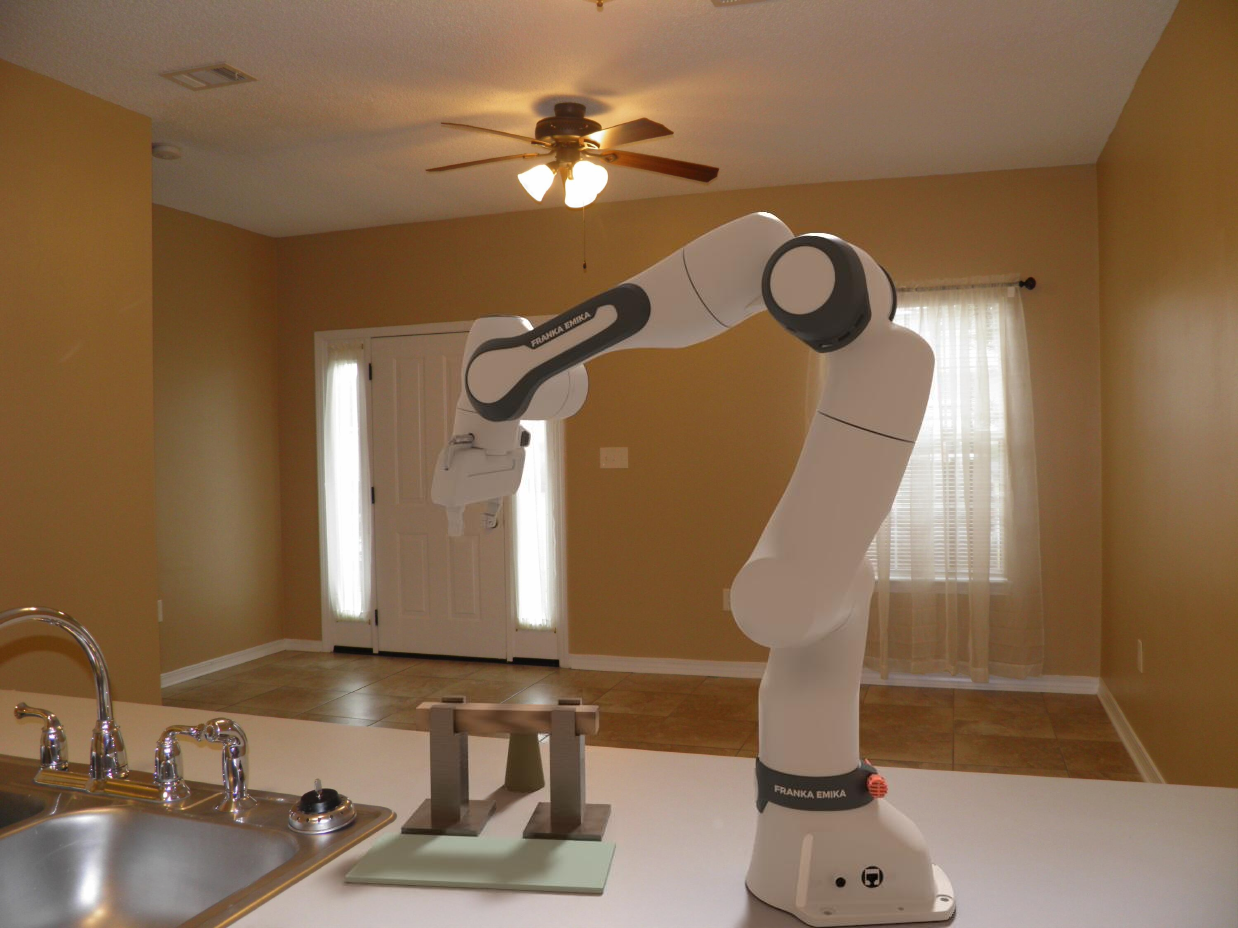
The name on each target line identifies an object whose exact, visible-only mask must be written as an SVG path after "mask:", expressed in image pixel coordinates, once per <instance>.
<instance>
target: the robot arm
mask: <svg viewBox="0 0 1238 928" xmlns="http://www.w3.org/2000/svg"><path fill="white" fill-rule="evenodd" d="M897 295H898V293H897V289H896V287H895V284H894V281H893V279H892V277H891V276H890V274H889V273H888V272H887V270H886V269H885V268H884V267H883V266H881V265H880V264H879V263H878V262H876V261H875V260H874V258H873V257H872V256H870V254H868V253H867V252H866V251H865V250H863V249H862V248H861V247H858V246H856V245H854V244H852V243H850V242H847V241H845V240H843V238H840V237H838V236H835V235H832V234H828V233H818V232H817V233H805V234H802V235H798V236H795V235H794V233H793V232H792V231H791V229H790V228H789V227H788V225H786V223H784V222H783V221H782V220H781V219H779V218H778V217H776V216H775V215H773V214H771V213H767V212H760V211H759V212H753V213H750V214H747V215H744V216H742V217H739V218H737V219H734V220H732V221H730V222H727V223H725V224H722V225H720V226H718V227H716V228H714V229H712V230H710V231H709V232H707V233H705V234H703V235H701V236H699V237H697V238H696V239H694V240H692V241H691V242H689V243H687V244H685V245H684V246H682V247H681V248H679V249H678V250H676V251H675V252H673V253H671V254H670V255H668V256H666V257H665V258H664V259H662V260H660V261H658V262H657V263H655V264H653V265H652V266H650V267H649V268H647V269H645V270H643V271H642V272H640V273H639V274H636V275H635V276H633V277H631V278H629V279H626V280H625V281H623V282H621V283H619V284H617V285H615V286H614V287H611V288H610V289H608V290H605V291H603V292H601V293H600V294H597V295H595V296H592V297H590V298H588V299H587V300H585V301H583V302H581V303H579V304H577V305H576V306H574V307H572V308H570V309H567V310H566V311H564V312H562V313H560V314H558V315H556V316H555V317H553V318H551V319H549V320H547V321H546V322H543V323H542V324H540V325H538V326H536V327H533V325H532V323H531V322H530V321H529V320H528V319H527V318H525V317H523V316H522V317H521V316H518V315H513V314H488V315H483V316H481V317H478V318H477V319H476V320H475V321H474V322H473V323H472V326H471V328H470V330H469V332H468V335H467V339H466V343H465V346H464V347H465V348H464V353H463V358H462V364H461V371H460V372H461V373H460V379H461V393H460V396H459V397H458V400H457V404H456V409H455V416H454V422H453V429H452V436H451V437H450V440H449V441H448V443H446V444H445V446H444V447H443V448H442V449H441V450H440V453H439V455H438V457H437V460H436V464H435V469H434V473H433V479H432V483H431V484H432V485H431V488H430V497H431V501H432V503H433V504H437V505H441V506H444V507H445V513H446V514H445V515H446V518H447V521H448V526H447V535H448V536H450V537H455V538H458V537H462V536H464V535H465V529H466V523H465V522H464V520H463V519H464V518H463V513H464V512H465V511H466V505H470V504H475V503H481V502H484V501H486V506H485V508H484V511H483V513H482V514H480V515H481V516H480V521H479V522H480V523H479V524H480V526H481V527H483V528H486V529H487V528H488V529H490V528H494V527H496V524H497V517H498V515H499V513H500V511H501V509H502V506H503V503H504V498H505V497H506V496H512V495H515V494H516V493H517V492H518V490H519V489H520V486H521V482H522V479H523V474H524V468H525V463H526V457H527V456H526V455H527V453H526V449H525V448H528V447H529V446H530V445H531V440H532V435H531V432H530V431H529V430H527V428H525V427H524V425H522V424H521V421H536V422H537V421H538V422H539V421H553V422H554V421H561V420H564V419H569V418H571V417H573V416H576V414H578V413H579V412H580V411H581V409H582V408H583V407H584V405H585V403H586V401H587V398H588V395H589V391H590V379H589V374H588V370H587V367H586V366H585V363H587V362H589V361H591V360H593V359H595V358H597V357H599V356H603V355H605V354H608V353H612V352H615V351H621V350H629V349H630V350H631V349H645V348H646V349H653V348H655V349H682V348H686V347H689V346H693V345H696V344H699V343H702V342H705V341H707V340H710V339H712V338H714V337H717V336H718V335H722V334H723V333H725V332H726V331H728V330H729V329H732V328H733V327H736V326H737V325H738V324H740V323H742V322H744V321H745V320H747V319H749V318H751V317H753V316H754V315H756V314H759V313H761V312H765V311H768V313H769V315H771V318H773V320H775V322H776V323H777V324H778V325H779V326H780V327H782V329H784V331H786V332H787V333H789V334H790V335H792V336H793V337H794V338H796V339H798V340H800V341H801V342H803V344H805V345H806V346H808V347H809V348H810V349H811V350H813V351H815V352H817V353H819V354H824V355H825V357H826V360H827V361H826V362H827V375H826V380H825V383H824V387H823V390H822V394H821V396H820V398H819V401H818V403H817V406H816V410H815V413H814V415H813V418H812V421H811V423H810V427H809V429H808V433H807V435H806V438H805V440H804V444H803V447H802V449H801V451H800V455H799V458H798V460H797V463H796V466H795V469H794V470H793V474H792V475H791V478H790V481H789V483H788V485H787V486H786V490H785V491H784V493H783V494H782V496H781V498H780V501H779V502H778V504H777V505H776V507H775V509H774V511H773V513H772V515H771V516H770V519H769V521H768V522H767V524H766V525H765V527H764V530H763V531H762V533H761V536H760V537H759V539H758V541H757V544H756V546H755V548H754V549H753V551H752V553H751V554H750V557H749V558H748V560H747V561H746V562H745V564H744V565H743V566H742V567H741V569H740V570H739V571H738V573H737V574H736V576H735V577H734V580H733V581H732V583H731V588H730V594H729V604H730V609H731V614H732V616H733V618H734V621H735V623H736V624H737V625H736V626H737V627H738V628H739V630H740V631H742V633H743V634H744V635H745V636H746V637H747V638H748V639H750V640H751V641H752V642H754V643H756V644H758V645H761V646H763V647H766V648H770V650H769V655H768V658H767V659H768V660H767V663H766V667H765V671H764V674H763V677H762V678H761V681H760V684H759V689H758V748H759V749H758V752H759V753H758V754H757V755H756V758H755V767H754V773H753V774H754V776H753V777H754V803H755V806H756V809H757V817H756V818H757V820H756V826H755V836H754V843H753V848H752V853H751V858H750V862H749V864H748V865H749V866H748V869H747V873H746V876H745V883H746V886H747V888H748V889H749V890H750V892H751V893H752V894H753V895H754V896H755V897H756V898H758V899H759V900H761V901H763V902H765V903H767V904H768V905H770V906H771V907H775V908H778V909H780V910H783V911H785V912H787V913H790V914H792V915H794V916H795V917H797V919H799V920H800V921H802V922H804V923H805V924H807V925H809V926H812V927H815V928H816V927H817V928H820V927H821V928H823V927H824V928H825V927H842V926H844V927H845V926H846V927H847V926H856V925H857V926H861V925H862V926H863V925H880V924H897V923H899V924H901V923H917V922H933V921H934V922H936V921H946V920H949V919H950V918H951V917H953V915H954V913H955V911H956V907H957V906H956V904H955V903H956V896H955V890H954V887H953V884H952V883H951V881H950V879H949V877H948V876H947V874H946V873H945V872H944V870H942V868H941V867H940V866H939V865H937V864H936V863H935V862H934V861H932V857H931V853H930V849H929V846H928V843H927V842H926V839H925V837H924V835H923V834H922V832H921V830H920V828H919V827H918V826H917V825H916V824H915V823H914V821H912V820H911V819H910V818H909V817H908V816H906V815H905V814H903V813H902V812H901V811H900V810H898V809H897V808H896V807H894V806H893V805H892V804H891V803H890V802H887V801H886V800H885V799H884V798H885V797H886V795H887V794H888V793H889V792H888V791H889V788H888V784H887V783H886V780H885V778H884V777H883V776H882V775H880V774H879V773H878V770H877V768H875V767H874V766H872V764H871V762H869V760H868V759H867V758H865V760H863V759H862V758H860V691H861V689H860V687H861V678H862V670H863V664H864V657H865V653H866V644H867V643H866V642H867V636H868V626H869V618H870V608H871V601H872V597H873V593H874V589H875V583H876V577H875V576H876V575H875V570H874V566H873V564H872V561H871V559H870V558H869V557H868V555H867V552H868V551H869V548H870V546H871V544H872V542H873V540H874V539H875V537H876V535H877V534H878V531H879V530H880V527H881V526H882V525H883V522H884V521H885V519H886V518H887V516H889V514H890V512H891V511H892V507H893V505H894V501H895V500H896V496H897V494H898V491H899V488H900V486H901V483H902V481H903V478H904V476H905V472H906V470H907V467H908V465H909V462H910V459H911V456H912V453H913V450H914V449H915V448H914V447H915V445H916V443H917V440H918V437H919V434H920V431H921V429H922V424H923V421H924V418H925V415H926V412H927V408H928V407H927V406H928V403H929V399H930V394H931V390H932V389H931V388H932V383H933V379H934V371H935V364H936V358H935V353H934V350H933V349H932V348H933V347H932V346H930V344H929V342H928V341H927V340H925V338H924V337H922V336H921V335H920V334H919V333H917V332H916V331H914V330H912V329H910V328H909V327H907V326H906V327H905V326H903V325H901V324H900V325H899V324H898V323H895V322H893V321H894V319H895V316H896V313H897V309H898V296H897ZM955 906H956V907H955ZM954 910H955V911H954ZM953 912H954V913H953ZM952 914H953V915H952ZM949 917H950V918H949Z"/></svg>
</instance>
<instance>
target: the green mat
mask: <svg viewBox="0 0 1238 928" xmlns="http://www.w3.org/2000/svg"><path fill="white" fill-rule="evenodd" d="M616 848H617V843H616V841H601V842H598V841H572V840H545V839H523V838H515V837H514V838H513V837H487V836H478V837H465V836H438V835H411V834H401V833H383V832H382V834H381V836H380V837H379V838H377V840H376V841H375V842H374V843H373V844H372V845H371V847H370V848H369V849H368V850H367V851H366V853H365V854H363V856H362V857H361V858H359V860H358V861H357V862H356V864H355V865H354V866H353V867H352V868H351V869H350V870H349V872H347V874H346V875H345V876H344V882H345V883H355V884H356V883H359V884H381V885H383V884H385V885H400V886H401V885H402V886H403V885H404V886H408V885H409V886H427V887H428V886H429V887H452V888H473V889H474V888H475V889H493V890H494V889H496V890H515V891H517V890H518V891H522V890H523V891H538V892H539V891H541V892H560V893H561V892H563V893H564V892H565V893H586V894H588V893H589V894H604V891H605V887H606V885H607V880H608V877H609V874H610V869H611V866H612V862H613V859H614V855H615V851H616Z"/></svg>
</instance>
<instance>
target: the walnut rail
mask: <svg viewBox="0 0 1238 928" xmlns="http://www.w3.org/2000/svg"><path fill="white" fill-rule="evenodd" d="M433 705H456V732H468V733H489V734H491V733H492V734H493V733H496V734H497V733H498V734H510V733H528V734H538V735H539V734H540V735H550V734H552V721H551V710H552V708H553V707H567V708H576V735H585V736H596V735H597V733H598V731H599V729H600V714H599V713H600V711H599V710H600V708H599V707H600V706H599V705H596V704H595V705H594V704H593V705H588V704H586V705H585V704H582V705H558V704H544V703H543V704H540V703H536V704H535V703H534V704H533V703H488V702H487V703H486V702H481V703H480V702H466V703H446V702H442V701H440V702H439V701H438V702H435V701H432V702H431V701H423V702H421V703H420V704H419V705H418V706H417V707H416V708H415V725H416V726H415V731H416V732H431V706H433Z"/></svg>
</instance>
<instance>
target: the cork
mask: <svg viewBox="0 0 1238 928" xmlns="http://www.w3.org/2000/svg"><path fill="white" fill-rule="evenodd" d="M507 750H508V751H507V759H506V767H505V776H504V785H503V787H504V788H505V790H508V791H510V792H514V793H530V792H535V791H539V790H541V789H542V788H544V787H545V786H546V781H545V776H544V768H543V767H544V766H543V762H542V755H541V748H540V740H539V734H528V733H509V742H508V749H507Z"/></svg>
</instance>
